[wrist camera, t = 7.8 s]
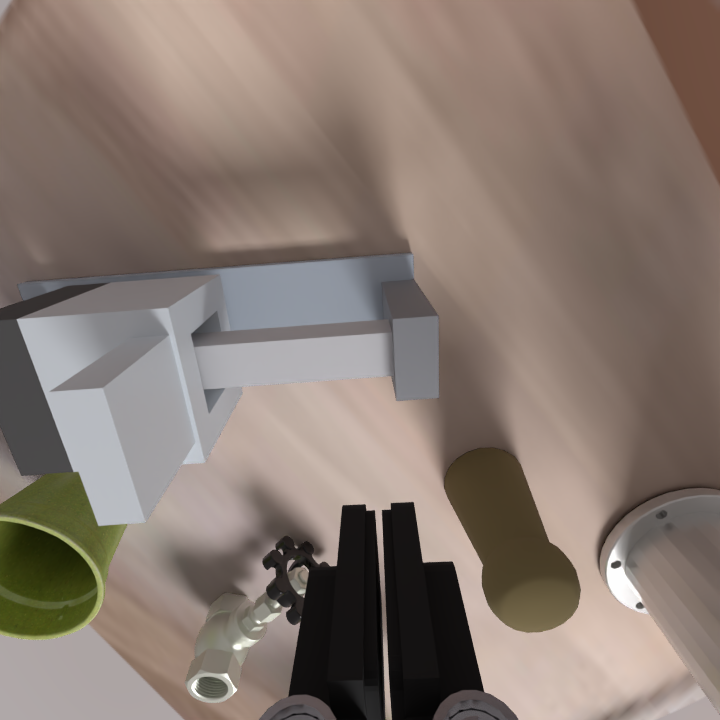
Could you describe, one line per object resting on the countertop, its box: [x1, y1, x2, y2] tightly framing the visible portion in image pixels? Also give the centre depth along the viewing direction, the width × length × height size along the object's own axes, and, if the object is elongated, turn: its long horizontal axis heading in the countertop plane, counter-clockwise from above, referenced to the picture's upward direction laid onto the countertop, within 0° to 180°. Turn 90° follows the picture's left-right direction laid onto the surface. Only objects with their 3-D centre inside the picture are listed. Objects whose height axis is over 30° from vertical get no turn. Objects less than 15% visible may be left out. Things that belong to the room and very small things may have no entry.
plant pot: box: [0, 472, 127, 640], centre depth 29 cm, size 9×9×9 cm
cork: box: [444, 448, 581, 633], centre depth 28 cm, size 6×6×11 cm
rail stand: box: [17, 253, 439, 401], centre depth 24 cm, size 24×7×9 cm, turn 94°
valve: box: [185, 536, 330, 703], centre depth 34 cm, size 7×7×12 cm
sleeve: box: [17, 274, 242, 526], centre depth 19 cm, size 6×7×12 cm
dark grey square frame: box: [0, 283, 109, 476], centre depth 22 cm, size 2×7×7 cm, turn 4°
